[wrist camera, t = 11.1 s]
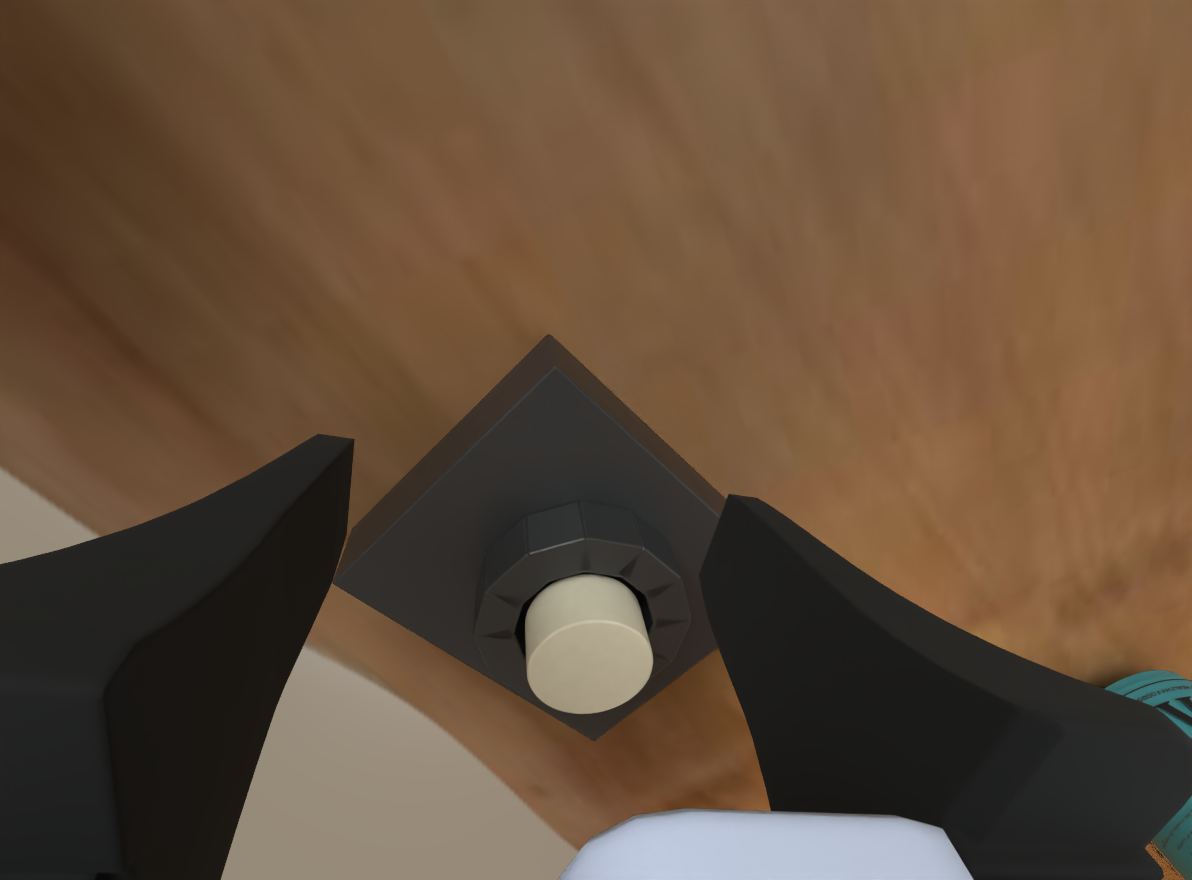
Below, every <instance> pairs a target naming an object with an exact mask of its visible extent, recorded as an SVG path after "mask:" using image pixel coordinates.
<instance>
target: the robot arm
mask: <svg viewBox="0 0 1192 880" xmlns="http://www.w3.org/2000/svg"><path fill="white" fill-rule="evenodd" d="M353 451H354V439H349V438H343V437H336V436H329V435H322V434H317V435H315V436H314V437H312V438H310V439H308V440H307V441H305V442H303V443H302V444H300V445H298V446H297V447H295V448H294V449H292V450H290V451H289V452H287V453H285V454H284V455H282V456H280V457H279V458H277V459H275V460H274V461H272V462H270V463H268V464H267V465H265V466H263V467H262V468H260V469H258V470H256V471H255V472H253V473H251V474H249V475H248V476H246V477H244V478H242V479H240V480H238V481H236V482H234V483H232V484H230V485H228V486H226V487H224V488H222V489H220V490H218V491H216V492H214V493H212V494H210V495H208V496H206V497H204V498H202V499H200V500H198V501H196V502H194V503H191V504H189V505H187V506H185V507H182V508H180V509H178V510H175V511H173V512H170V513H168V514H165V515H163V516H160V517H158V518H155V519H152V520H150V521H147V522H145V523H142V524H139V525H137V526H134V527H131V528H128V529H125V530H122V531H119V532H115V533H112V534H109V535H106V536H103V537H99V538H96V539H93V540H90V541H86V542H83V543H80V544H77V545H74V546H71V547H67V548H64V549H60V550H57V551H53V552H49V553H45V554H41V555H37V556H33V557H29V558H26V559H22V560H17V561H13V562H8V563H4V564H0V880H221V876H222V873H223V870H224V867H225V863H226V860H227V857H228V854H229V850H230V847H231V844H232V841H233V837H234V834H235V830H236V828H237V824H238V821H239V818H240V815H241V812H242V809H243V806H244V803H245V800H246V796H247V793H248V790H249V787H250V784H251V781H252V778H253V775H254V772H255V768H256V765H257V762H258V759H259V756H260V753H261V750H262V747H263V744H264V741H265V738H266V735H267V732H268V729H269V727H270V723H271V721H272V718H273V715H274V712H275V709H276V706H277V704H278V701H279V699H280V697H281V694H282V692H283V689H284V686H285V684H286V682H287V680H288V677H289V676H290V673H291V671H292V669H293V667H294V665H295V662H296V660H297V658H298V656H299V654H300V652H301V649H302V647H303V645H304V643H305V641H306V638H307V636H308V634H309V632H310V630H311V628H312V625H313V623H314V621H315V619H316V617H317V614H318V612H319V610H320V608H321V606H322V603H323V601H324V599H325V597H326V594H327V592H328V590H329V588H330V585H331V583H332V581H333V578H334V575H335V571H336V568H337V565H338V562H339V558H340V555H341V551H342V548H343V545H344V541H345V538H346V534H347V523H348V511H349V499H350V487H351V475H352V463H353ZM699 580H700V585H701V590H702V595H703V600H704V604H705V609H706V613H707V617H708V620H709V623H710V626H711V629H712V631H713V634H714V637H715V639H716V642H717V645H718V647H719V650H720V653H721V655H722V658H723V660H724V663H725V666H726V668H727V671H728V673H729V676H730V679H731V681H732V684H733V686H734V689H735V691H736V694H737V697H738V699H739V702H740V704H741V707H742V709H743V712H744V715H745V717H746V720H747V723H748V726H749V729H750V732H751V735H752V738H753V742H754V745H755V749H756V753H757V757H758V760H759V764H760V768H761V772H762V775H763V779H764V783H765V787H766V791H767V795H768V799H769V804H770V808H771V811H754V810H724V809H694V808H684V809H676V810H669V811H662V812H655V813H647V814H640V815H635V816H633V817H631V818H629V819H627V820H625V821H623V822H621V823H619V824H617V825H615V826H613V827H611V828H609V829H607V830H605V831H603V832H601V833H599V834H597V835H595V836H593V837H591V838H590V839H589V840H588V842H587V843H586V844H585V845H584V846H583V847H582V849H581V850H580V851H579V853H578V854H577V855H576V856H575V858H574V859H573V860H572V861H571V863H570V864H569V865H568V867H567V868H566V869H565V870H564V872H563V873H562V874H561V875H560V877H559V878H558V880H1161V879H1162V878H1163V877H1164V875H1163V870H1162V868H1161V867H1160V866H1159V865H1158V863H1157V862H1156V861H1155V860H1154V859H1153V858H1152V857H1151V855H1150V854H1149V853H1148V852H1147V851H1146V850H1145V847H1146V845H1147V844H1148V843H1149V842H1150V841H1151V840H1152V839H1153V838H1154V837H1155V836H1156V835H1157V834H1158V833H1159V832H1160V831H1161V830H1162V829H1163V828H1164V826H1165V825H1166V824H1167V823H1168V822H1169V821H1170V820H1171V819H1172V818H1173V817H1174V816H1175V815H1176V814H1177V813H1178V812H1179V811H1180V810H1181V809H1182V807H1183V806H1184V805H1185V804H1186V803H1187V801H1188V800H1189V799H1190V797H1191V796H1192V738H1191V737H1189V736H1188V735H1187V734H1186V733H1185V732H1184V731H1183V730H1182V729H1181V728H1180V727H1178V726H1177V725H1176V724H1175V723H1174V722H1173V721H1172V720H1171V719H1170V718H1169V717H1167V716H1166V715H1165V714H1164V713H1162V712H1161V711H1159V710H1158V709H1156V708H1155V707H1153V706H1151V705H1149V704H1146V703H1143V702H1140V701H1137V700H1135V699H1132V698H1129V697H1126V696H1123V695H1120V694H1117V693H1114V692H1112V691H1109V690H1106V689H1103V688H1100V687H1097V686H1094V685H1091V684H1089V683H1086V682H1083V681H1080V680H1077V679H1074V678H1072V677H1069V676H1066V675H1064V674H1061V673H1059V672H1056V671H1054V670H1052V669H1049V668H1047V667H1044V666H1042V665H1039V664H1037V663H1034V662H1032V661H1029V660H1027V659H1024V658H1022V657H1020V656H1018V655H1015V654H1013V653H1011V652H1009V651H1006V650H1004V649H1002V648H1000V647H997V646H995V645H993V644H991V643H989V642H987V641H985V640H983V639H981V638H979V637H977V636H974V635H972V634H970V633H968V632H966V631H964V630H962V629H960V628H958V627H956V626H954V625H952V624H950V623H948V622H946V621H945V620H943V619H941V618H939V617H937V616H935V615H933V614H932V613H930V612H928V611H926V610H925V609H923V608H921V607H919V606H918V605H916V604H914V603H912V602H911V601H909V600H907V599H905V598H904V597H902V596H900V595H899V594H897V593H895V592H894V591H892V590H891V589H889V588H887V587H886V586H884V585H883V584H881V583H880V582H878V581H877V580H875V579H874V578H872V577H871V576H869V575H868V574H866V573H865V572H863V571H862V570H860V569H859V568H857V567H856V566H854V565H853V564H851V563H850V562H848V561H847V560H846V559H844V558H843V557H841V556H840V555H839V554H837V553H836V552H834V551H833V550H832V549H830V548H829V547H827V546H826V545H825V544H823V543H822V542H821V541H819V540H818V539H816V538H815V537H814V536H812V535H811V534H810V533H808V532H807V531H806V530H804V529H803V528H801V527H800V526H799V525H797V524H796V523H795V522H793V521H792V520H790V519H789V518H788V517H786V516H785V515H783V514H782V513H780V512H779V511H778V510H776V509H775V508H773V507H771V506H770V505H768V504H767V503H765V502H763V501H761V500H759V499H758V498H753V497H746V496H739V495H733V494H729V495H728V498H727V500H726V503H725V506H724V508H723V511H722V514H721V516H720V519H719V522H718V524H717V527H716V530H715V532H714V535H713V538H712V540H711V543H710V546H709V548H708V551H707V554H706V556H705V559H704V562H703V564H702V567H701V570H700V573H699Z"/></svg>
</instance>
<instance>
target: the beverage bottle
mask: <svg viewBox="0 0 1192 880" xmlns="http://www.w3.org/2000/svg"><path fill="white" fill-rule="evenodd" d="M1191 681H1192V680H1187V679H1185V678H1183V677H1182V676H1180V675H1178V674H1176V673H1173V672H1170V671H1164V670H1153V671H1146V672H1141V673H1137V674H1134V675H1131V676H1128V677H1126V678H1124V679H1121V680H1119V681H1117V682H1115V683H1113V684H1111V685H1110V686H1108V687H1106V688H1105V689H1106V690H1109V691H1112V692H1114V693H1117V694H1120V695H1123V696H1126V697H1129V698H1132V699H1135V700H1137V701H1140V702H1143V703H1146V704H1149V705H1151V706H1153V707H1155V708H1156V709H1158V710H1159V711H1161V712H1162V713H1164V714H1165V715H1166V716H1167V717H1169V718H1170V719H1171V720H1172V721H1173V722H1174V723H1175V724H1176V725H1177V726H1178V727H1180V728H1181V729H1182V730H1183V731H1184V732H1185V733H1186V734H1187V735H1188V736H1189V737H1191V738H1192V682H1191ZM1151 841H1152V842H1153V843H1154V844H1155V846H1156V847H1157V848H1158V849H1159V850H1160V851H1161V852H1162V854H1163V855H1164V856H1165V857H1166V858H1167V859H1168V860H1169V862H1170V863H1171V864H1172V865H1173V866H1174V867H1175V868H1176V870H1177V871H1178V872H1179V873H1180V874H1181V875H1182V876H1183V878H1184V879H1185V880H1192V796H1191V797H1190V799H1189V800H1188V801H1187V803H1186V804H1185V805H1184V806H1183V807H1182V809H1181V810H1180V811H1179V812H1178V813H1177V814H1176V815H1175V816H1174V817H1173V818H1172V819H1171V820H1170V821H1169V822H1168V823H1167V824H1166V825H1165V826H1164V828H1163V829H1162V830H1161V831H1160V832H1159V833H1158V834H1157V835H1156V836H1155V837H1154V838H1153V839H1152V840H1151ZM1149 843H1150V844H1152V843H1151V842H1149ZM1152 845H1153V844H1152ZM1151 847H1152V846H1151ZM1156 850H1157V849H1156ZM1157 851H1158V850H1157ZM1159 853H1160V852H1159V851H1158V854H1159ZM1160 854H1161V853H1160ZM1162 854H1161V856H1162ZM1161 856H1160V857H1161ZM1162 857H1163V856H1162ZM1162 857H1161V858H1162ZM1163 858H1164V857H1163ZM1164 859H1165V858H1164ZM1165 860H1166V859H1165ZM1164 862H1165V861H1164ZM1166 864H1167V863H1166ZM1169 865H1170V864H1169ZM1170 866H1171V865H1170ZM1171 867H1172V866H1171ZM1172 868H1173V867H1172ZM1172 868H1170V869H1172ZM1172 870H1173V869H1172ZM1173 871H1174V870H1173ZM1175 872H1176V871H1175ZM1176 873H1177V872H1176ZM1177 874H1178V873H1177ZM1177 874H1176V875H1177ZM1178 875H1179V874H1178ZM1179 876H1180V875H1179ZM1182 880H1183V879H1182Z"/></svg>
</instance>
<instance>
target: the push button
mask: <svg viewBox="0 0 1192 880" xmlns="http://www.w3.org/2000/svg"><path fill="white" fill-rule="evenodd" d="M525 639H526V666H527V679H528V682H529V685H530V687H531V689H532V691H533V692H534V694H535V695H536V696H537V697H538V698H539V699H540V700H541V701H542V702H544V703H545V704H546V705H548V706H550V707H552V708H554V709H557V710H560V711H563V712H567V713H574V714H590V713H598V712H602V711H606V710H609V709H612V708H615V707H617V706H619V705H621V704H623V703H625V702H627V701H628V700H630V699H631V698H633V697H634V696H635V695H636V694H637V693H638V692H639V691H640V690H641V689H642V688H643V687H644V685H645V684H646V682H647V681H648V679H649V677H650V674H651V671H652V667H653V654H652V649H651V646H650V642H649V638H648V634H647V631H646V627H645V623H644V620H643V616H642V612H641V609H640V605H639V603H638V600H637V598H636V597H635V595H634V594H633V592H632V591H631V590H630V589H629V588H628V587H626V586H625V585H624V584H622V583H621V582H619V581H617V580H615V579H613V578H610V577H607V576H603V575H596V574H581V575H574V576H570V577H566V578H563V579H561V580H558V581H556V582H554V583H552V584H551V585H549V586H548V587H546V588H545V589H544V590H542V591H541V592H540V593H539V594H538V595H537V596H536V598H535V599H534V600H533V601H532V603H531V605H530V607H529V609H528V611H527V614H526V618H525Z"/></svg>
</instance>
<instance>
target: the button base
mask: <svg viewBox="0 0 1192 880" xmlns="http://www.w3.org/2000/svg"><path fill="white" fill-rule="evenodd" d="M725 503H726V499H725V498H724V497H723V496H722V495H721V494H720V493H719V492H718V491H717V490H716V489H714V488H713V487H712V486H711V485H710V484H709V483H708V482H707V481H706V480H705V479H704V478H703V477H702V476H701V475H700V474H698V473H697V472H696V471H695V470H694V469H693V468H692V467H691V466H690V465H689V464H688V463H687V462H686V461H685V460H684V459H683V458H681V457H680V456H679V455H678V454H677V453H676V452H675V451H674V450H673V449H672V448H671V447H670V446H669V445H668V444H667V443H665V442H664V441H663V440H662V439H661V438H660V437H659V436H658V435H657V434H656V433H655V432H654V431H653V430H652V429H651V428H649V427H648V426H647V425H646V424H645V423H644V422H643V421H642V420H641V419H640V418H639V417H638V416H637V415H636V414H635V413H633V412H632V411H631V410H630V409H629V408H628V407H627V406H626V405H625V404H624V403H623V402H622V401H621V400H620V399H619V398H617V397H616V396H615V395H614V394H613V393H612V392H611V391H610V390H609V389H608V388H607V387H606V386H605V385H604V384H603V383H602V382H600V381H599V380H598V379H597V378H596V377H595V376H594V375H593V374H592V373H591V372H590V371H589V370H588V369H587V368H586V367H584V366H583V365H582V364H581V363H580V362H579V361H578V360H577V359H576V358H575V357H574V356H573V355H572V354H571V353H570V352H568V351H567V350H566V349H565V348H564V347H563V346H562V345H561V344H560V343H559V342H558V341H557V340H556V339H555V338H554V337H552V336H551V335H547V336H546V337H545V338H544V339H543V340H542V341H541V342H540V343H539V344H538V345H537V346H536V347H535V348H534V349H533V350H532V351H531V352H530V353H529V354H527V355H526V356H525V357H524V358H523V359H522V360H521V361H520V362H519V363H518V364H517V365H516V366H515V367H514V368H513V369H512V370H511V371H510V372H509V373H508V374H507V375H506V376H505V377H504V378H503V379H502V380H501V381H500V382H499V383H498V384H497V385H496V386H495V387H494V388H493V389H492V390H491V391H490V392H489V393H488V394H487V395H486V396H485V397H484V398H483V399H482V400H481V401H480V402H479V403H478V404H477V405H476V406H475V407H474V408H473V409H472V410H471V411H470V412H469V413H468V414H467V415H466V416H465V417H464V418H463V419H462V420H461V421H460V422H459V423H458V424H457V425H456V426H455V427H454V428H453V429H452V430H451V431H450V432H449V433H448V434H447V435H446V436H445V437H444V438H443V439H442V440H441V441H440V442H439V443H438V444H437V445H436V446H435V447H434V448H433V449H432V450H431V451H430V452H429V453H428V454H427V455H426V456H425V457H424V458H423V459H422V460H421V461H420V462H419V463H418V464H417V465H416V466H415V467H414V468H413V469H412V470H411V471H410V472H409V473H408V474H407V475H406V476H405V477H404V478H403V479H402V480H401V481H400V482H399V483H398V484H397V485H396V486H395V487H394V488H393V489H392V490H391V491H390V492H389V493H388V494H387V495H386V496H385V497H384V498H383V499H382V500H381V501H380V502H379V503H378V504H377V505H376V506H375V507H374V508H373V509H372V510H371V511H370V512H369V513H368V514H367V515H366V516H365V517H364V518H363V519H362V520H361V521H360V522H359V523H358V524H357V525H356V526H355V527H354V528H353V529H352V531H351V533H350V536H349V539H348V542H347V544H346V547H345V550H344V552H343V555H342V558H341V561H340V563H339V566H338V569H337V571H336V574H335V577H334V580H333V584H334V585H336V586H337V587H339V588H341V589H342V590H344V591H346V592H347V593H349V594H351V595H352V596H354V597H356V598H357V599H359V600H361V601H362V602H364V603H366V604H367V605H369V606H371V607H372V608H374V609H375V610H377V611H379V612H380V613H382V614H384V615H385V616H387V617H389V618H390V619H392V620H394V621H395V622H397V623H399V624H400V625H402V626H404V627H405V628H407V629H409V630H410V631H412V632H414V633H415V634H417V635H419V636H420V637H422V638H424V639H425V640H427V641H429V642H430V643H432V644H434V645H435V646H437V647H439V648H440V649H442V650H443V651H445V652H447V653H448V654H450V655H452V656H453V657H455V658H457V659H458V660H460V661H462V662H463V663H465V664H467V665H468V666H470V667H472V668H473V669H475V670H477V671H478V672H480V673H482V674H483V675H485V676H487V677H488V678H490V679H492V680H493V681H495V682H497V683H498V684H500V685H502V686H503V687H505V688H506V689H508V690H510V691H511V692H513V693H515V694H516V695H518V696H520V697H521V698H523V699H525V700H526V701H528V702H530V703H531V704H533V705H535V706H536V707H538V708H540V709H541V710H543V711H545V712H546V713H548V714H550V715H551V716H553V717H555V718H556V719H558V720H560V721H561V722H563V723H565V724H566V725H568V726H570V727H571V728H573V729H574V730H576V731H578V732H579V733H581V734H583V735H584V736H586V737H588V738H589V739H591V740H593V741H596V740H597V739H598V738H600V737H601V736H602V735H604V734H605V733H606V732H608V731H609V730H610V729H611V728H613V727H614V726H615V725H617V724H618V723H619V722H621V721H622V720H623V719H625V718H626V717H627V716H628V715H630V714H631V713H632V712H634V711H635V710H636V709H638V708H639V707H640V706H642V705H643V704H644V703H646V702H647V701H648V700H649V699H651V698H652V697H653V696H655V695H656V694H657V693H659V692H660V691H661V690H663V689H664V688H665V687H666V686H668V685H669V684H670V683H672V682H673V681H674V680H676V679H677V678H678V677H680V676H681V675H682V674H684V673H685V672H686V671H687V670H689V669H690V668H691V667H693V666H694V665H695V664H697V663H698V662H699V661H701V660H702V659H703V658H704V657H706V656H707V655H708V654H710V653H711V652H712V651H714V650H715V649H716V648H718V645H717V642H716V639H715V637H714V634H713V631H712V629H711V626H710V623H709V620H708V617H707V613H706V609H705V604H704V600H703V595H702V590H701V585H700V580H699V573H700V570H701V567H702V564H703V562H704V559H705V556H706V554H707V551H708V548H709V546H710V543H711V540H712V538H713V535H714V532H715V530H716V527H717V524H718V522H719V519H720V516H721V514H722V511H723V508H724V506H725ZM581 574H596V575H603V576H607V577H610V578H613V579H615V580H617V581H619V582H621V583H622V584H624V585H625V586H626V587H628V588H629V589H630V590H631V591H632V592H633V594H634V595H635V597H636V598H637V600H638V603H639V605H640V609H641V612H642V616H643V620H644V623H645V627H646V631H647V634H648V638H649V642H650V646H651V649H652V654H653V667H652V671H651V674H650V677H649V679H648V681H647V682H646V684H645V685H644V687H643V688H642V689H641V690H640V691H639V692H638V693H637V694H636V695H635V696H634V697H633V698H631V699H630V700H628V701H627V702H625V703H623V704H621V705H619V706H617V707H615V708H612V709H609V710H606V711H602V712H598V713H590V714H574V713H567V712H563V711H560V710H557V709H554V708H552V707H550V706H548V705H546V704H545V703H544V702H542V701H541V700H540V699H539V698H538V697H537V696H536V695H535V694H534V692H533V691H532V689H531V687H530V685H529V682H528V679H527V666H526V639H525V618H526V614H527V611H528V609H529V607H530V605H531V603H532V601H533V600H534V599H535V598H536V596H537V595H538V594H539V593H540V592H541V591H542V590H544V589H545V588H546V587H548V586H549V585H551V584H552V583H554V582H556V581H558V580H561V579H563V578H566V577H570V576H574V575H581Z"/></svg>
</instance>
